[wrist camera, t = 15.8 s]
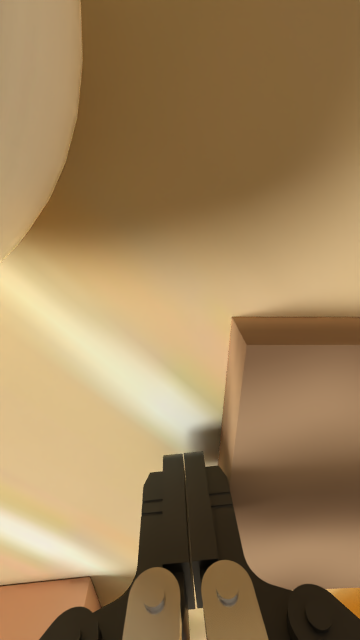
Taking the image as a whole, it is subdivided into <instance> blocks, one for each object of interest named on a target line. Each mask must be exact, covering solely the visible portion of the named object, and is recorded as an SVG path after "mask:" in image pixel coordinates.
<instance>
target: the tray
mask: <svg viewBox="0 0 360 640" xmlns="http://www.w3.org/2000/svg"><path fill="white" fill-rule="evenodd" d="M80 606H81V607H85V608H87V609H89V610H90V611H92V613H93V612H95V611H97V610H99V609H101V606H100V603H99V600H98V598H97V595H96V592H95V589H94V587H93V584H92V581H91V578H90V577H85V578H75V579H66V580H56V581H47V582H37V583H28V584H18V585H9V586H0V640H39V639H40V638H41V636H42V635H43V634H44V633H45V631H46V630H47V629H48V628H49V626H50V625H51V624H52V623H53V621H54V620H55V619H56V618H57V617H58V616H59V615H60V614H62V613H63V612H65V611H66V610H68V609H70V608H73V607H80Z"/></svg>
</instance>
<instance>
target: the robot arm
mask: <svg viewBox="0 0 360 640" xmlns="http://www.w3.org/2000/svg"><path fill="white" fill-rule="evenodd" d="M184 461H185V470H184ZM184 461H183V454H174V455H164V456H163V471H162V472H153V473H150V474H149V476H148V478H147V480H146V482H145V484H144V487H143V500H142V501H143V504H142V517H141V527H140V540H139V554H138V566H137V571H136V575H135V577H134V580H133V582H132V584H131V585H130V587H129V588H128V590H127V591H126V592H125V593H124V594H123V595H122V596H121V597H120V598H119V599H117V600H115V601H114V602H112V603H110V604H108V605H106V606H104V607H103V608H101V609H99V610H97V611H95V612H93V613H92V611H90V610H89V609H87V608H85V607H81V606H80V607H73V608H70V609H68V610H66V611H65V612H63V613H62V614H60V615H59V616H58V617H57V618H56V619H55V620H54V621H53V623H52V624H51V625H50V626H49V628H48V629H47V630H46V631H45V633H44V634H43V635H42V636H41V638H40V639H39V640H190V634H189V616H188V610H189V609H195V597H194V585H195V592H196V600H197V608H203V611H204V620H205V628H206V637H207V640H360V619H359V618H358V617H357V616H356V615H354V614H353V613H352V612H351V611H350V610H349V609H348V608H347V607H345V606H344V605H343V604H342V603H341V602H340V601H339V600H338V599H336V598H335V597H334V596H333V595H332V594H331V593H330V592H328V591H327V590H325V589H324V588H322V587H320V586H317V585H314V584H302V585H300V586H298V587H296V588H295V589H294V590H293V591H292V590H288V589H285V588H282V587H278V586H275V585H272V584H269V583H267V582H265V581H263V580H262V579H260V578H259V577H258V576H257V575H256V574H255V573H254V572H253V571H252V570H251V569H250V567H249V565H248V564H247V562H246V559H245V557H244V553H243V549H242V544H241V539H240V535H239V530H238V525H237V521H236V516H235V511H234V507H233V502H232V497H231V493H230V488H229V483H228V479H227V476H226V475H225V473H224V472H223V471H222V469H221V468H220V466H209V467H205V462H204V455H203V451H202V452H192V453H184ZM185 475H186V478H185ZM193 577H194V583H193Z"/></svg>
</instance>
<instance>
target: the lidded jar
mask: <svg viewBox="0 0 360 640" xmlns="http://www.w3.org/2000/svg"><path fill="white" fill-rule="evenodd" d="M82 67H83V56H82V22H81V0H0V263H1V262H2V261H3V260H4V259H5V258H6V257H7V256H8V255H9V254H10V253H11V252H12V251H13V250H14V249H15V248H16V247H17V246H18V244H19V243H20V242H21V240H22V239H23V238H24V236H25V235H26V234H27V232H28V231H29V230H30V228H31V227H32V225H33V224H34V222H35V221H36V219H37V218H38V216H39V215H40V213H41V212H42V210H43V209H44V207H45V206H46V204H47V203H48V201H49V200H50V197H51V195H52V193H53V190H54V188H55V186H56V184H57V181H58V179H59V177H60V174H61V172H62V170H63V167H64V165H65V163H66V160H67V156H68V152H69V148H70V144H71V140H72V136H73V132H74V128H75V124H76V120H77V115H78V106H79V96H80V86H81V76H82Z"/></svg>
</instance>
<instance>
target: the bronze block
mask: <svg viewBox="0 0 360 640" xmlns="http://www.w3.org/2000/svg"><path fill="white" fill-rule="evenodd" d="M218 466H220V468H221V469H222V471H223V472H224V473H225V475H226V476H227V479H228V483H229V488H230V493H231V497H232V502H233V507H234V511H235V516H236V521H237V525H238V530H239V535H240V539H241V544H242V549H243V553H244V557H245V559H246V562H247V564H248V565H249V567H250V569H251V570H252V571H253V572H254V573H255V574H256V575H257V576H258V577H259V578H260V579H262V580H263V581H265V582H267V583H269V584H272V585H275V586H278V587H282V588H285V589H288V590H294V589H295V588H296V587H298V586H300V585H302V584H314V585H317V586H320V587H322V588H324V589H334V588H360V317H232V322H231V333H230V343H229V354H228V364H227V375H226V385H225V396H224V406H223V417H222V427H221V438H220V448H219V459H218Z"/></svg>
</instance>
